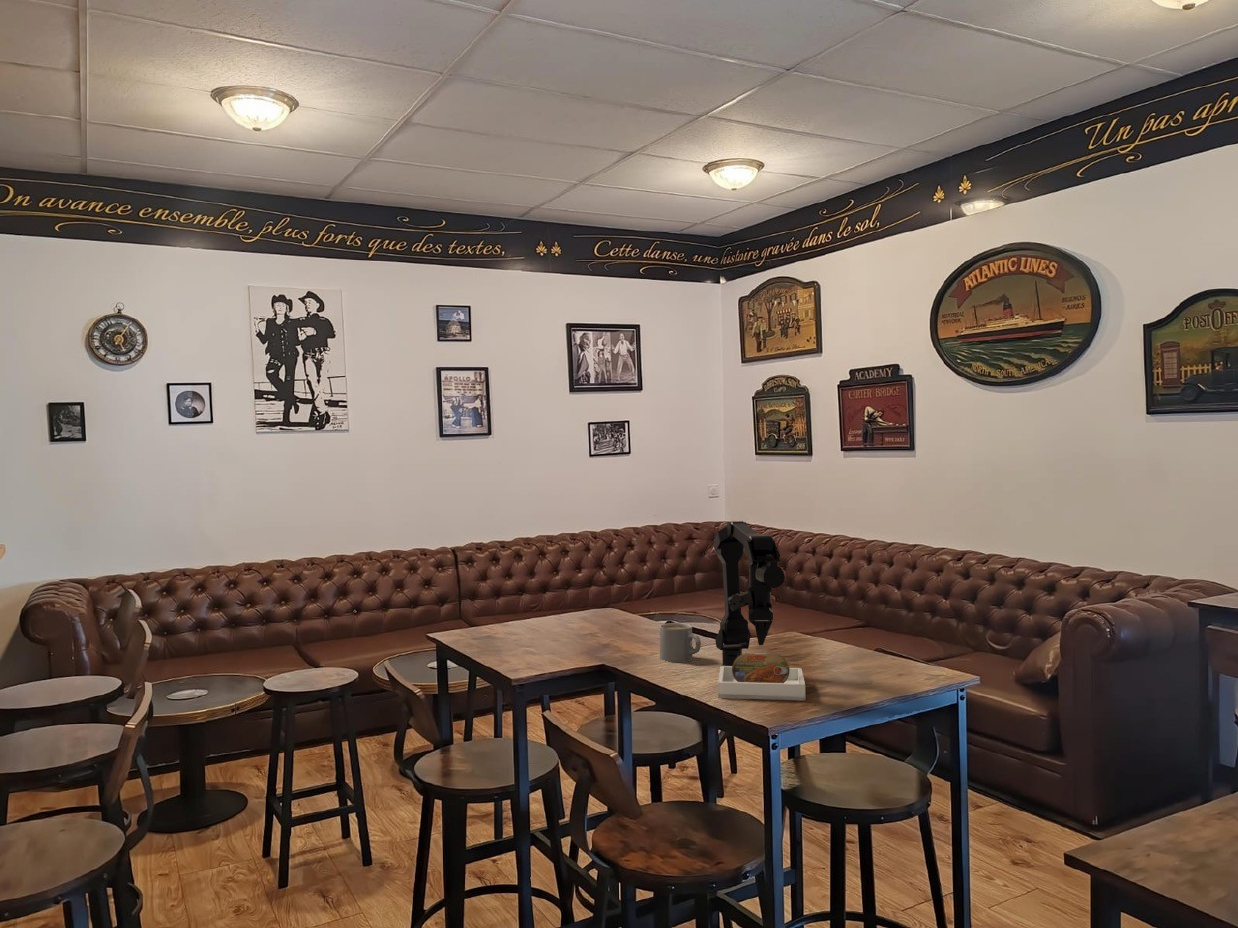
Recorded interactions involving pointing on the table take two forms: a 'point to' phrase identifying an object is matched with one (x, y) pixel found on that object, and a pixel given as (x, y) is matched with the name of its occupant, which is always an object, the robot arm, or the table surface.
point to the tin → (760, 668)
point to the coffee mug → (677, 642)
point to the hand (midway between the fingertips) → (760, 641)
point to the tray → (761, 687)
